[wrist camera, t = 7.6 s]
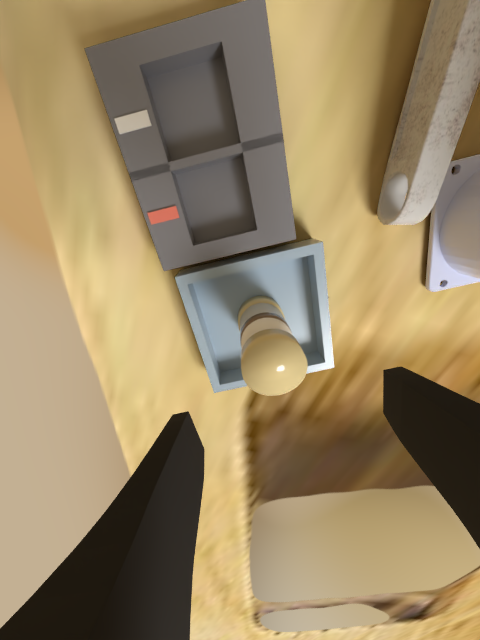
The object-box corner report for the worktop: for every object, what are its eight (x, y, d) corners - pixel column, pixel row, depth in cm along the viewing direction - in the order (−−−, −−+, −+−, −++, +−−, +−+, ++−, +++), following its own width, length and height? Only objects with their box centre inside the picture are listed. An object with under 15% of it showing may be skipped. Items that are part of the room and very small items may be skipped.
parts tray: (312, 238, 16) (322, 241, 14) (324, 353, 20) (334, 367, 18) (180, 270, 17) (174, 277, 15) (215, 376, 20) (214, 392, 19)
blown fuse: (277, 290, 17) (303, 333, 11) (285, 330, 18) (311, 388, 13) (232, 301, 17) (234, 348, 11) (243, 340, 19) (249, 401, 13)
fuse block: (259, 27, 12) (264, -8, 10) (288, 236, 16) (296, 239, 14) (105, 72, 13) (83, 47, 11) (171, 264, 17) (163, 271, 15)
